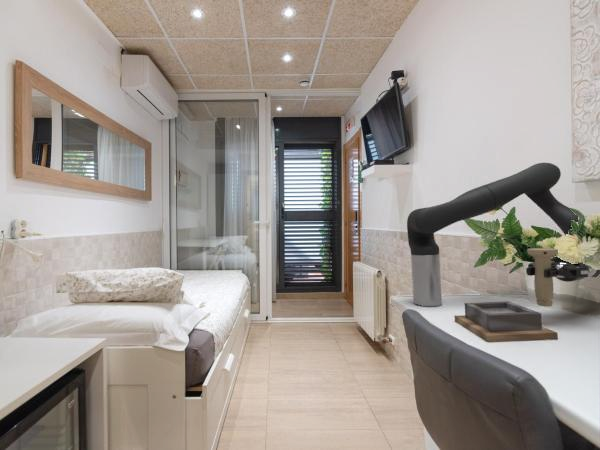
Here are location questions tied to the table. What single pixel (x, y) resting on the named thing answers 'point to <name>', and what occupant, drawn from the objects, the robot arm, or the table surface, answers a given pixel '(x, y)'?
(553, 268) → the robot arm
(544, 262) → the handle
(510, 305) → the socket base
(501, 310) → the mottled stone tile
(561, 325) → the table surface
